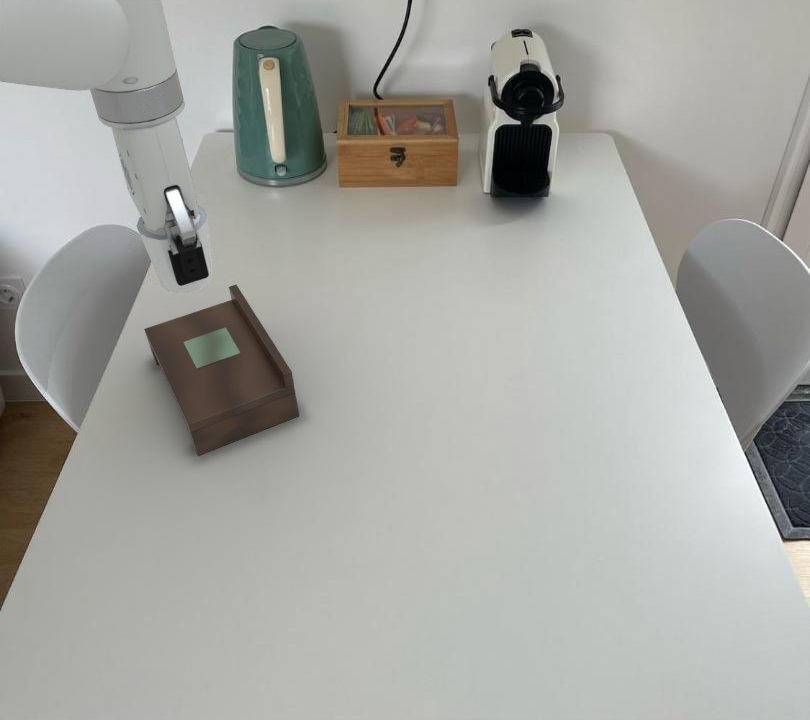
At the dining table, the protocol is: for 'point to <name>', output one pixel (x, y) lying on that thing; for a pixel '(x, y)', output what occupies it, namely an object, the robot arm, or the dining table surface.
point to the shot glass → (160, 246)
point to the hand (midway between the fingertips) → (182, 259)
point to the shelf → (224, 372)
